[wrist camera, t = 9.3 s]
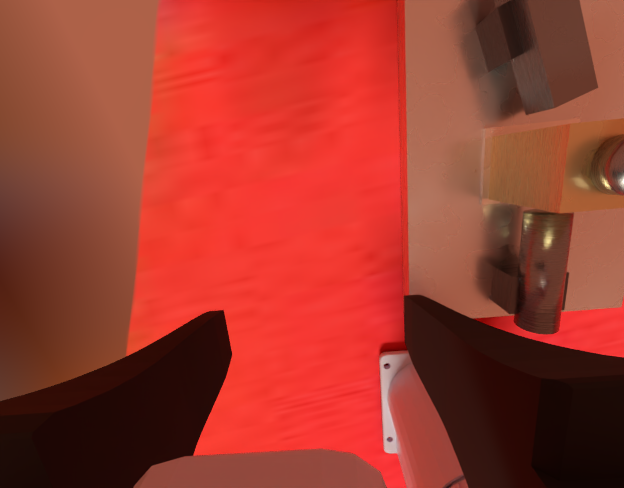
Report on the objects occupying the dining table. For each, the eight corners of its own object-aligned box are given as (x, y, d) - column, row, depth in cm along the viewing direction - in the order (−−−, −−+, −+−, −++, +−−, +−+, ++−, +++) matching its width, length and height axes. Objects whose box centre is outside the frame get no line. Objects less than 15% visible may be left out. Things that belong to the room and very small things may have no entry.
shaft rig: (600, 297, 21) (676, 332, 17) (403, 312, 22) (425, 350, 17) (656, -40, 16) (787, -119, 11) (396, -7, 17) (425, -69, 12)
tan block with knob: (563, 192, 18) (703, 208, 11) (488, 199, 18) (583, 218, 11) (571, 128, 17) (729, 105, 10) (492, 136, 17) (598, 118, 10)
